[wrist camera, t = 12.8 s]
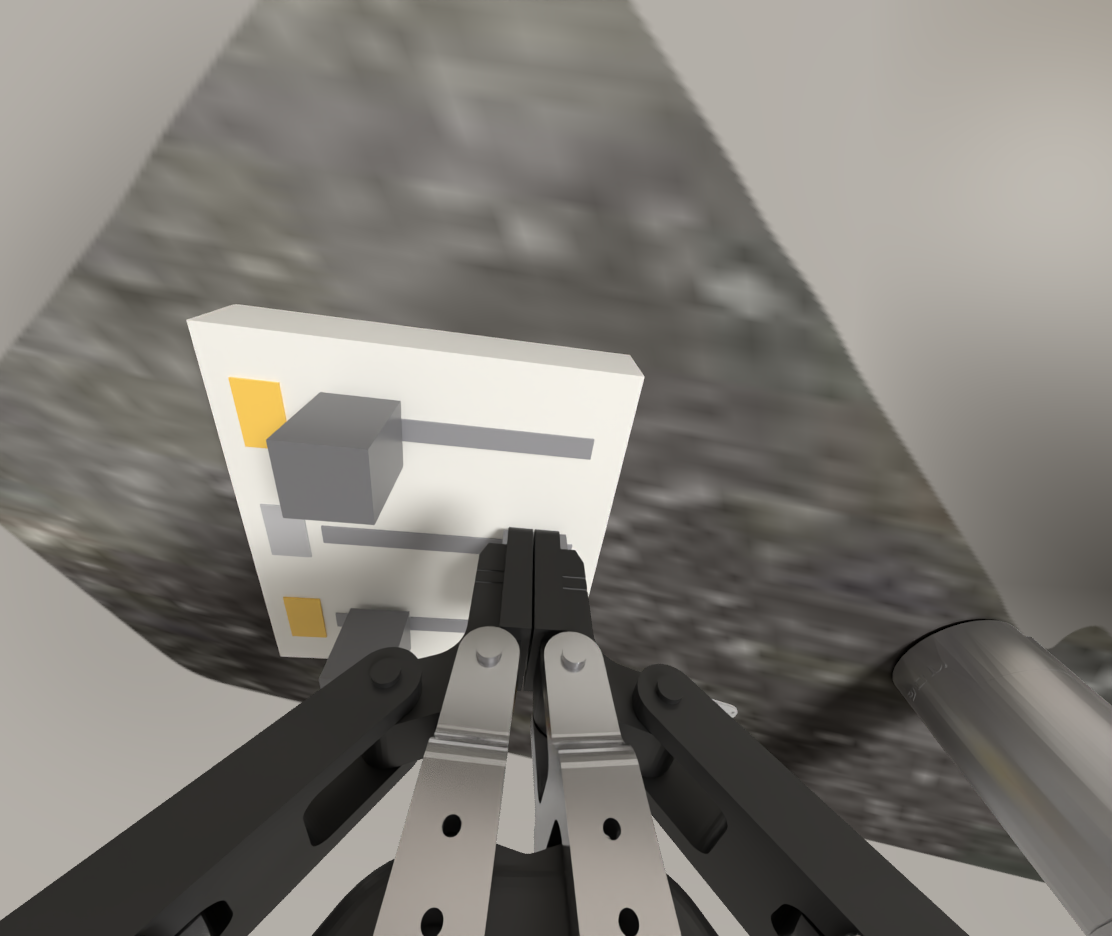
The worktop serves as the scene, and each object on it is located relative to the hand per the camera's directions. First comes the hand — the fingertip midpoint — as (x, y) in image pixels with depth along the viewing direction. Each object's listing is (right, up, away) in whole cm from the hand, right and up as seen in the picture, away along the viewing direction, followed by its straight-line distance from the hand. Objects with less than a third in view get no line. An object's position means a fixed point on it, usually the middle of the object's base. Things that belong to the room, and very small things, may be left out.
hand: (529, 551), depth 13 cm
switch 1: (-7, +4, +5) cm, 9 cm away
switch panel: (-5, 0, +11) cm, 12 cm away
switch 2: (-9, -6, +11) cm, 15 cm away
